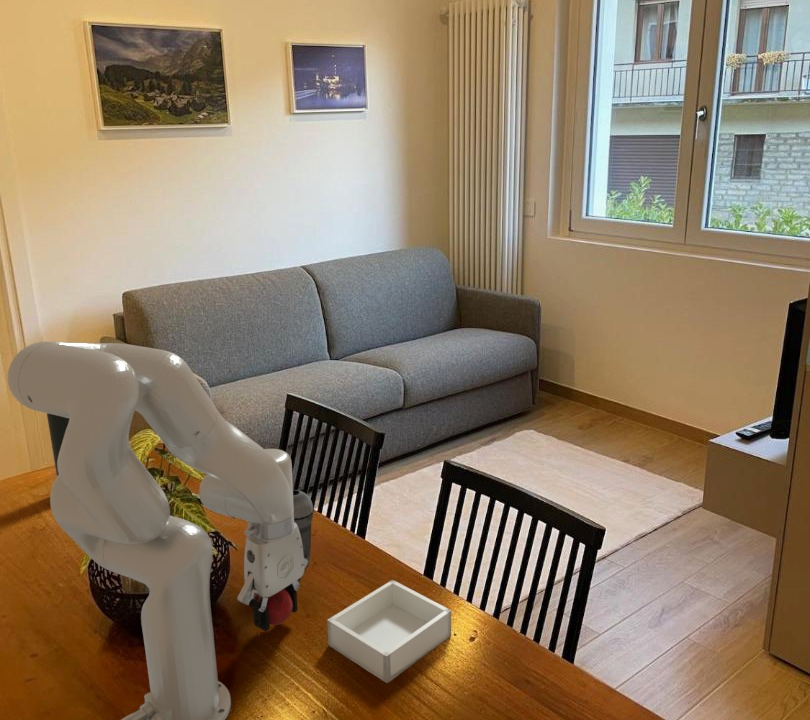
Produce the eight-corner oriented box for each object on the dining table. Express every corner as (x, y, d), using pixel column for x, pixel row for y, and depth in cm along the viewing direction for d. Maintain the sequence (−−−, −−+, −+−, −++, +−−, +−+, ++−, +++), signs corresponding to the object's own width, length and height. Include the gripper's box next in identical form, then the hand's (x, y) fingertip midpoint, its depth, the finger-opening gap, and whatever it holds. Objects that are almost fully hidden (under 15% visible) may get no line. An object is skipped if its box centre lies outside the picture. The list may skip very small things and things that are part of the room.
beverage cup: (306, 576, 150) (301, 481, 144) (272, 569, 152) (266, 476, 146) (322, 556, 156) (318, 465, 150) (289, 550, 158) (284, 460, 152)
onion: (295, 631, 132) (293, 590, 130) (261, 637, 131) (258, 595, 128) (290, 612, 138) (288, 572, 135) (257, 617, 136) (255, 577, 134)
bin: (387, 683, 121) (386, 656, 120) (328, 645, 130) (327, 619, 128) (451, 635, 132) (451, 610, 131) (392, 603, 141) (392, 579, 139)
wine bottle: (69, 501, 180) (50, 378, 171) (54, 495, 183) (35, 374, 174) (91, 491, 185) (73, 371, 176) (76, 485, 188) (58, 367, 179)
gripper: (247, 551, 120) (253, 652, 125) (323, 510, 133) (326, 602, 138) (215, 537, 124) (222, 635, 129) (291, 498, 138) (295, 588, 143)
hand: (276, 617), depth 134 cm, fingers closed on onion, 5 cm apart
